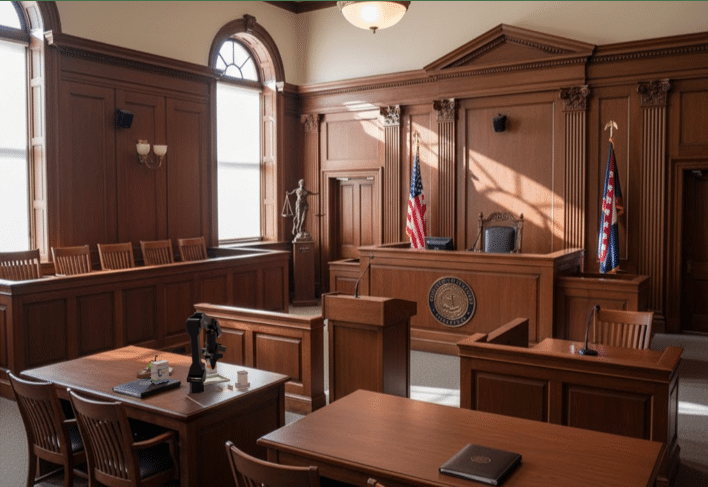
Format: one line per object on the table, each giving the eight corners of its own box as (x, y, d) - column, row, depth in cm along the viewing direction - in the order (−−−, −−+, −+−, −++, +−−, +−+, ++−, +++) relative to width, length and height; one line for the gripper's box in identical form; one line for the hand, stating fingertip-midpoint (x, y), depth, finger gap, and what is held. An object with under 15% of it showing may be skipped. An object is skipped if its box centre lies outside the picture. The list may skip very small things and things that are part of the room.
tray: (204, 386, 358) (204, 383, 358) (193, 380, 370) (193, 377, 370) (230, 382, 367) (230, 378, 366) (218, 376, 379) (218, 373, 379)
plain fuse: (240, 387, 352) (240, 373, 352) (237, 386, 355) (237, 371, 355) (247, 386, 355) (247, 371, 354) (244, 384, 358) (244, 370, 357)
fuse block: (221, 394, 343) (221, 388, 343) (214, 390, 351) (214, 385, 350) (253, 388, 354) (253, 383, 354) (245, 385, 361) (245, 379, 361)
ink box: (163, 380, 371) (163, 359, 371) (169, 381, 368) (169, 360, 368) (150, 383, 364) (150, 362, 364) (156, 385, 361) (156, 363, 361)
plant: (178, 370, 395) (178, 351, 394) (166, 379, 375) (165, 359, 375) (146, 369, 397) (146, 351, 396) (132, 378, 377) (131, 358, 377)
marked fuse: (209, 374, 365) (209, 360, 365) (206, 372, 368) (206, 358, 368) (216, 373, 367) (216, 359, 367) (213, 371, 371) (213, 357, 370)
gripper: (231, 341, 364) (232, 369, 365) (217, 336, 379) (218, 363, 380) (212, 344, 357) (213, 372, 358) (199, 338, 373) (199, 366, 373)
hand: (211, 368), depth 368 cm, fingers closed on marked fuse, 4 cm apart
